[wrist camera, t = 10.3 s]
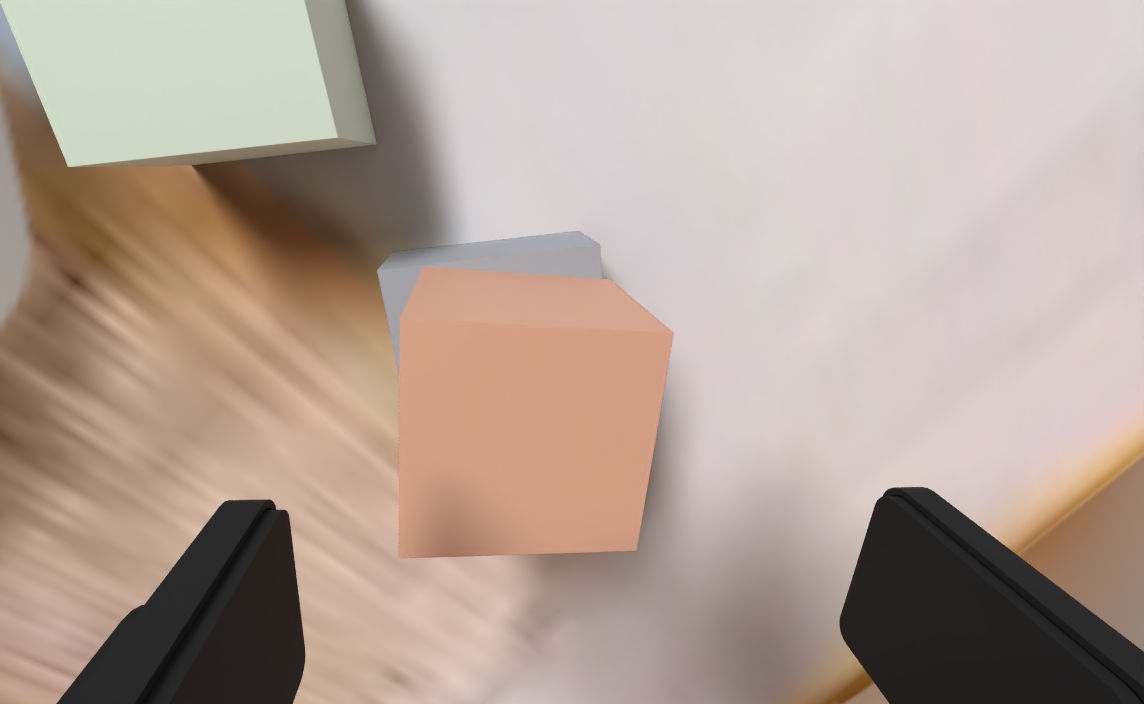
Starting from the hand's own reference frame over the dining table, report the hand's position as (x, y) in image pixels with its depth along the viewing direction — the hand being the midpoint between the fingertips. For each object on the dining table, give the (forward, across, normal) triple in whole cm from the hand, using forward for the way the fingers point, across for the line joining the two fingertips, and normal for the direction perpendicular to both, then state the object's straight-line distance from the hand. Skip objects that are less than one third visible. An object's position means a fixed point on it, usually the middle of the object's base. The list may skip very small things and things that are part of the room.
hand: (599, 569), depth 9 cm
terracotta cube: (+10, +1, 0) cm, 10 cm away
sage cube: (+14, +9, -8) cm, 19 cm away
